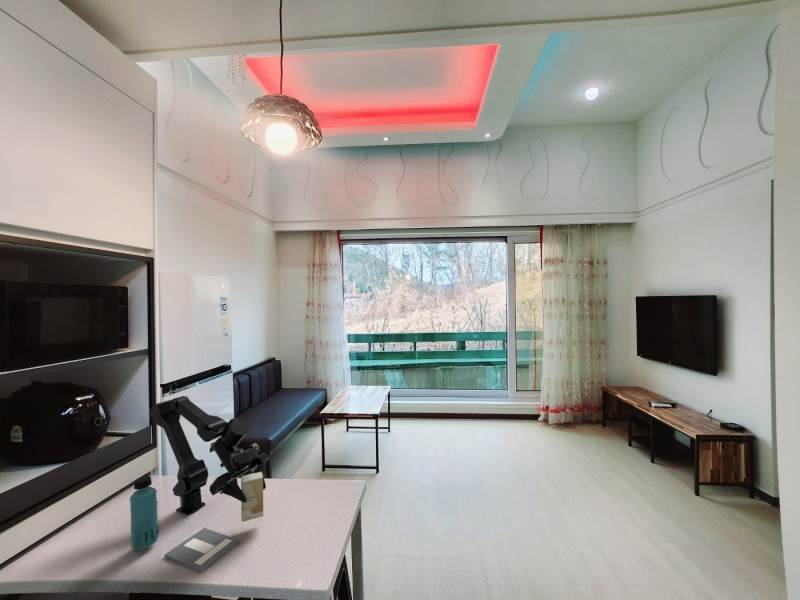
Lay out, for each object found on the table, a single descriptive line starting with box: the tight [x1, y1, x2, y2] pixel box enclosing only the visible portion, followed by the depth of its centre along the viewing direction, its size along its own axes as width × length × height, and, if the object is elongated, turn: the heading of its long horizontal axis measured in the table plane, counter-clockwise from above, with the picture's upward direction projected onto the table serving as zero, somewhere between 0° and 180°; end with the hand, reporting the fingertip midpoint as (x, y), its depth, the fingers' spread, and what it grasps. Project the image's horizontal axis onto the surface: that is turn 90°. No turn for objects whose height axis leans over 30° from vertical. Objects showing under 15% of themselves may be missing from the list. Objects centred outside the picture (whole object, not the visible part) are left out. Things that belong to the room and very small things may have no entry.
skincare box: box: [240, 472, 264, 523], centre depth 107 cm, size 6×4×12 cm
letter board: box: [163, 527, 241, 574], centre depth 98 cm, size 15×12×1 cm
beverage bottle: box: [129, 475, 159, 551], centre depth 99 cm, size 6×7×20 cm
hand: (255, 495), depth 106 cm, fingers closed on skincare box, 7 cm apart
